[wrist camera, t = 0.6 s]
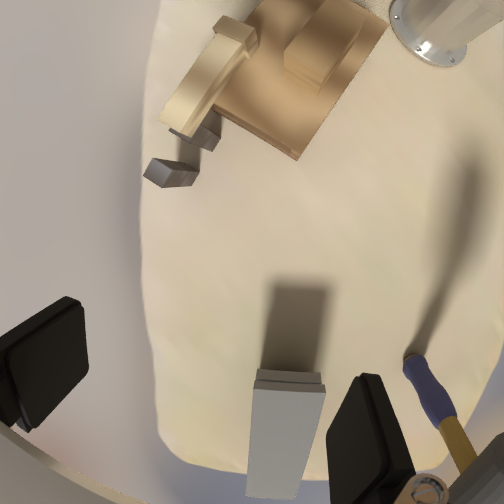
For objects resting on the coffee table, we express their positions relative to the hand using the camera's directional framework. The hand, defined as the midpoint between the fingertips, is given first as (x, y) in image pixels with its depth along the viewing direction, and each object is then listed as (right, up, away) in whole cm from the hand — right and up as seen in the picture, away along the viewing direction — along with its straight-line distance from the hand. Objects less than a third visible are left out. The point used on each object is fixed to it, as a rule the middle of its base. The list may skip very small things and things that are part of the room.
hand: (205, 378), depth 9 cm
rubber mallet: (+26, -13, +30) cm, 42 cm away
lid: (+6, +24, +16) cm, 29 cm away
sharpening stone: (+6, -21, +34) cm, 40 cm away
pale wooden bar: (-2, +20, +16) cm, 25 cm away
